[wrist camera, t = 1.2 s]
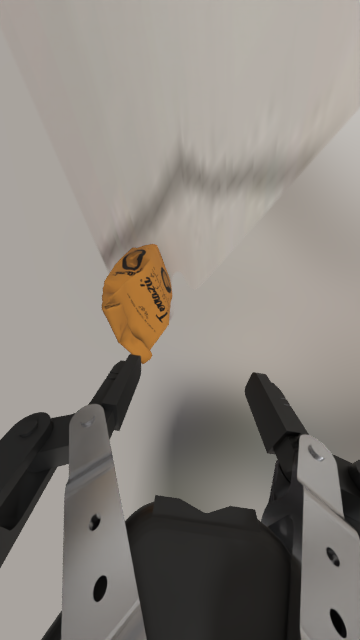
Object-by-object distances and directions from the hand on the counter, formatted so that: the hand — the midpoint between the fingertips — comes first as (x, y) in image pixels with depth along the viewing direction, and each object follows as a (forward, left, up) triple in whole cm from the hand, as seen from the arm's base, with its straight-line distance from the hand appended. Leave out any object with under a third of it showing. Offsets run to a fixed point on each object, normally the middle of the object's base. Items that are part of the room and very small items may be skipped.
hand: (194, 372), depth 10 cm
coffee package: (-2, -8, -29) cm, 30 cm away
